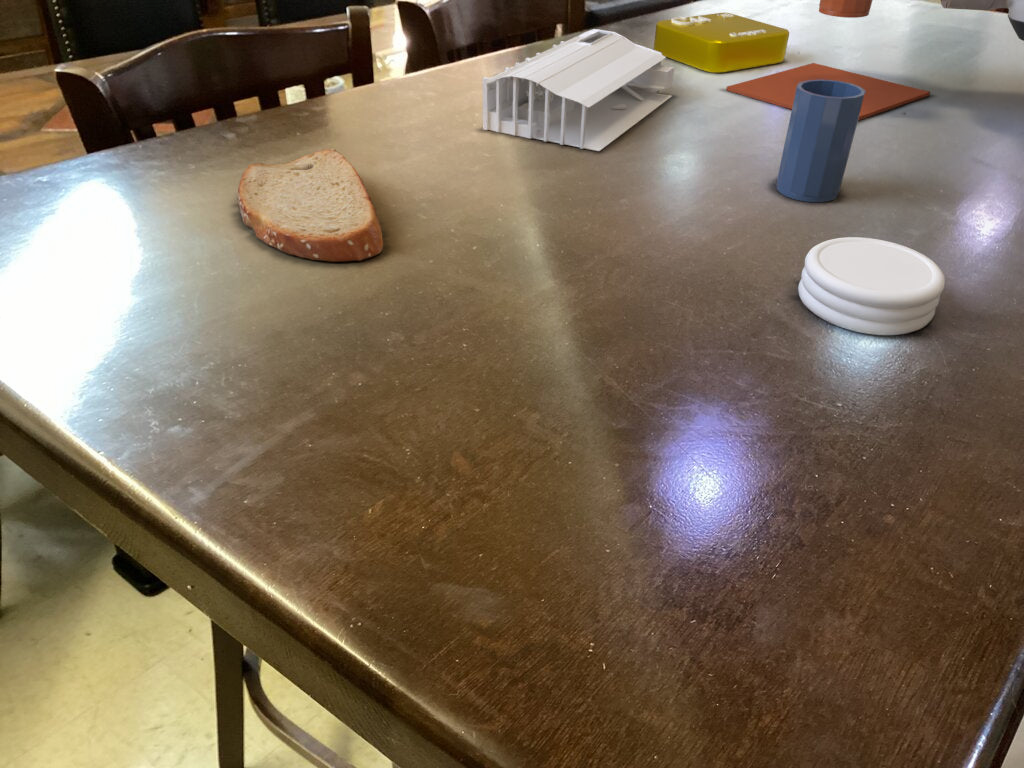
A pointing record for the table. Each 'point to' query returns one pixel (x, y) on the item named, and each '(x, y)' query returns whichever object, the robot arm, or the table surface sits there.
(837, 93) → the blue cup
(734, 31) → the element tile
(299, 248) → the bread slice
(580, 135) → the model shed
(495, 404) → the table surface
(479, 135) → the table surface
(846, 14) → the terracotta cup
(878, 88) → the terracotta mat
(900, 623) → the table surface
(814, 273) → the coaster
